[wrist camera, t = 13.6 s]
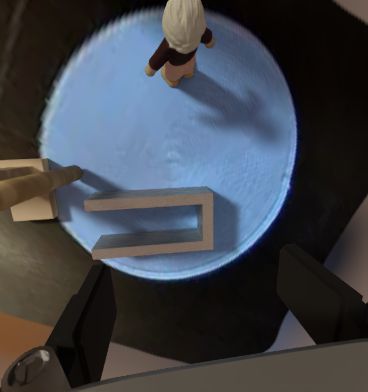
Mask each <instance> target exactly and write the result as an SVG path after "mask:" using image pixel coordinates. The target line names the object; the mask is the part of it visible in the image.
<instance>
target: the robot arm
mask: <svg viewBox="0 0 368 392" xmlns="http://www.w3.org/2000/svg"><path fill="white" fill-rule="evenodd" d="M277 293H278V295H279V296H280V298H281V299H282V300H283V302H284V303H285V304H286V306H287V307H288V308H289V309H290V311H291V312H292V313H293V315H294V316H295V317H296V319H297V320H298V321H299V322H300V324H301V325H302V326H303V328H304V329H305V330H306V332H307V333H308V334H309V335H310V337H311V338H312V339H313V341H314V342H315V343H316V345H312V346H306V347H300V348H293V349H286V350H280V351H273V352H266V353H260V354H253V355H247V356H241V357H234V358H228V359H222V360H215V361H209V362H203V363H197V364H191V365H185V366H179V367H173V368H166V369H160V370H154V371H149V372H143V373H138V374H132V375H127V376H121V377H116V378H110V379H106V380H102V381H100V380H101V376H102V372H103V368H104V364H105V360H106V356H107V352H108V347H109V343H110V339H111V335H112V331H113V327H114V323H115V319H116V314H117V309H116V302H115V296H114V290H113V284H112V278H111V271H110V267H109V266H107V267H106V265H105V264H98V265H93V266H92V268H91V270H90V271H89V273H88V275H87V277H86V279H85V281H84V283H83V285H82V286H81V288H80V290H79V292H78V294H75V295H73V296H72V297H71V299H70V301H69V303H68V304H67V306H66V308H65V310H64V311H63V313H62V315H61V317H60V319H59V320H58V322H57V324H56V326H55V327H54V329H53V331H52V333H51V335H50V336H49V338H48V340H47V342H46V343H45V345H44V346H39V347H36V348H33V349H31V350H29V351H27V352H25V353H24V354H23V355H21V356H20V357H18V358H17V359H16V360H15V361H14V362H13V363H12V364H11V365H10V366H9V368H8V369H7V370H6V372H5V373H4V376H3V378H2V380H1V388H0V392H368V302H367V303H366V304H365V303H364V302H363V301H362V298H363V296H362V295H361V294H360V293H358V292H357V291H356V290H354V289H353V288H352V287H350V286H349V285H348V284H346V283H345V282H344V281H342V280H341V279H340V278H338V277H337V276H336V275H334V274H333V273H332V272H331V271H329V270H328V269H327V268H326V267H324V266H323V265H322V264H320V263H319V262H318V261H316V260H315V259H314V258H312V257H311V256H310V255H308V254H307V253H306V252H305V251H303V250H302V249H301V248H299V247H298V246H297V245H295V244H293V245H284V246H283V248H282V249H281V250H280V258H279V269H278V279H277Z"/></svg>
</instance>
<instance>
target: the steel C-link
mask: <svg viewBox="0 0 368 392" xmlns="http://www.w3.org/2000/svg"><path fill="white" fill-rule="evenodd" d="M182 205H197V227H198V228H191V229H177V230H164V231H150V232H137V233H123V234H110V235H101V237H100V238H99V240H98V241H97V242H96V244H95V245H94V247H93V248H92V250H91V251H92V257H93V260H95V259H107V258H119V257H131V256H142V255H154V254H166V253H178V252H190V251H202V250H213V192H212V191H211V190H209V189H208V188H207V187H206V186H201V187H183V188H165V189H147V190H129V191H111V192H95V193H94V194H92V195H91V196H89V197H88V198H86V199H85V200H84V208H85V212H87V211H103V210H118V209H134V208H150V207H166V206H182Z"/></svg>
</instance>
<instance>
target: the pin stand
mask: <svg viewBox="0 0 368 392" xmlns="http://www.w3.org/2000/svg"><path fill="white" fill-rule="evenodd" d="M82 176H83V171H82V169H81V168H80V167H78V166H76V165H73V166H68V167H63V168H59V169H54V170H50V168H49V162H48V158H46V159H20V160H2V161H0V211H2V210H5V209H7V208H11V211H12V215H13V219H14V221H25V220H41V219H54V218H55V217H57V216H58V215H59V214H58V209H57V203H56V198H55V193H54V189H57V188H59V187H62V186H64V185H67V184H69V183H72V182H74V181H77V180H79V179H81V178H82Z"/></svg>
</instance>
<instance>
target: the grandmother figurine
mask: <svg viewBox="0 0 368 392" xmlns="http://www.w3.org/2000/svg"><path fill="white" fill-rule="evenodd" d="M162 27H163V31H164V35H165V38H164V39H163V41H162V43H161V44H160V46H159V47H158V49H157V50H156V51H155V53H154V54H153V56H152V57H151V58H150V60H149V63H148V65H147V66H146V68H145V72H146V74H147V75H148V76H150V77H152V76H154V74H155V72H157V71H158V70H159V69H160V68H161V67H162V66H163V65H164V64H165V65H164V66H163V68H162V70H161V75H162V77H163V78H164V80H165V81H166V82H167V84H168V85H169V86H170V87H175V86H177V85H178V84H179V81H180V80H179V78H181V77H182V76H183V77H184V78H186V79H188V78H191V77H192V76H193V75H194V65H195V55H196V51H197V48H198V46H199V43H200V42H201V43H203V44H205V46H206V47H207V48H212V47H213V46H214V44H215V40H214V38H213V36H212V31H211V30H210V29H208V28H207V27H206V19H205V13H204V9H203V6H202V3H201V0H169V1H168V2H167V5H166V7H165V10H164V15H163V19H162Z"/></svg>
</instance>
